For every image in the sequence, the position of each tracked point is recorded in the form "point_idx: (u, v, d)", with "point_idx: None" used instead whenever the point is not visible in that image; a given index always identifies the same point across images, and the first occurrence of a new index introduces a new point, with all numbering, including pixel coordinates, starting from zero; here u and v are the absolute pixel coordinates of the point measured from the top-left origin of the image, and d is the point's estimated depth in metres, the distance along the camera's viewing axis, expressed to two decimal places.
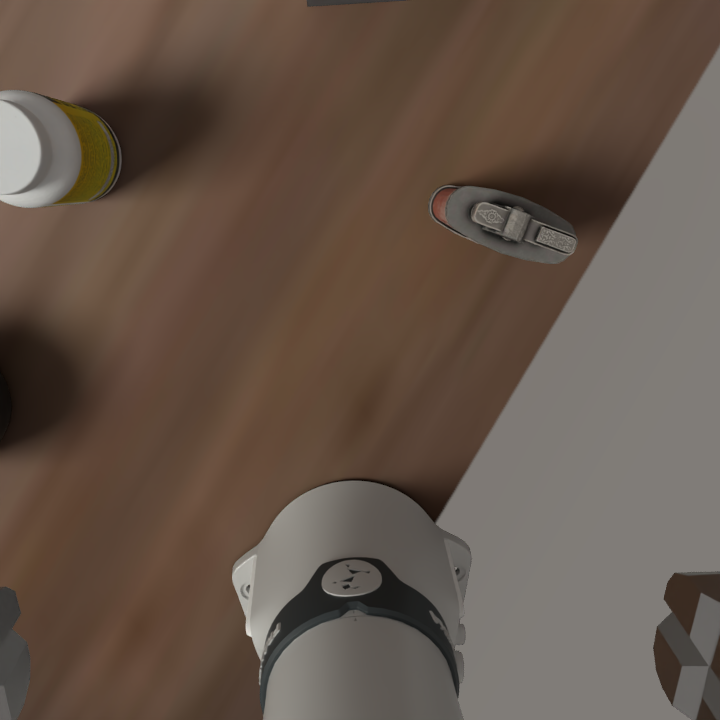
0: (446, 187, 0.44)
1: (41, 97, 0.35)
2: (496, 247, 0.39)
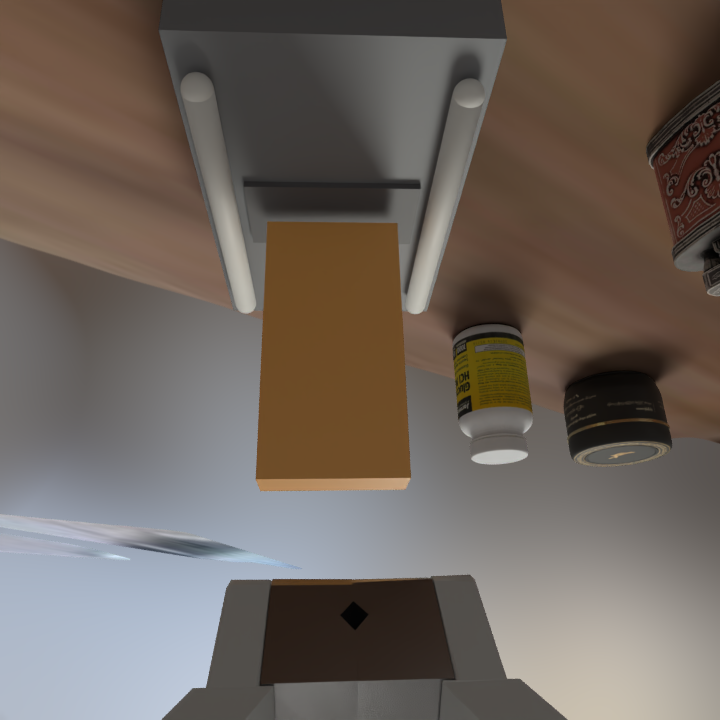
0: (652, 157, 0.36)
1: (469, 417, 0.54)
2: None
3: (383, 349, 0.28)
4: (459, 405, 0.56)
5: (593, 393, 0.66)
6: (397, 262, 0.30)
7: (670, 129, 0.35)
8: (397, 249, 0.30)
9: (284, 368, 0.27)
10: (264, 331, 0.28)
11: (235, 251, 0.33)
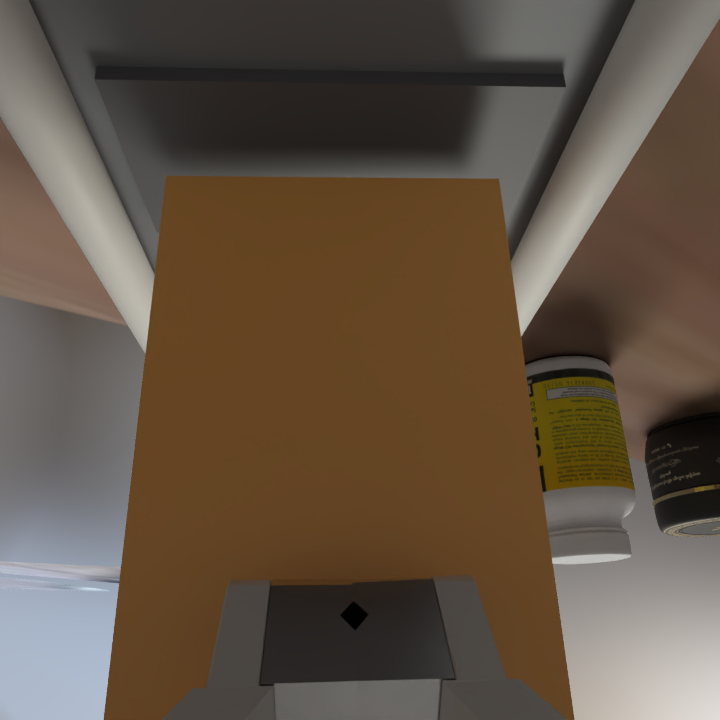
0: None
1: None
2: None
3: (490, 544, 0.09)
4: None
5: (694, 443, 0.48)
6: (508, 281, 0.11)
7: None
8: (504, 246, 0.11)
9: (188, 617, 0.09)
10: (136, 491, 0.09)
11: (110, 252, 0.14)
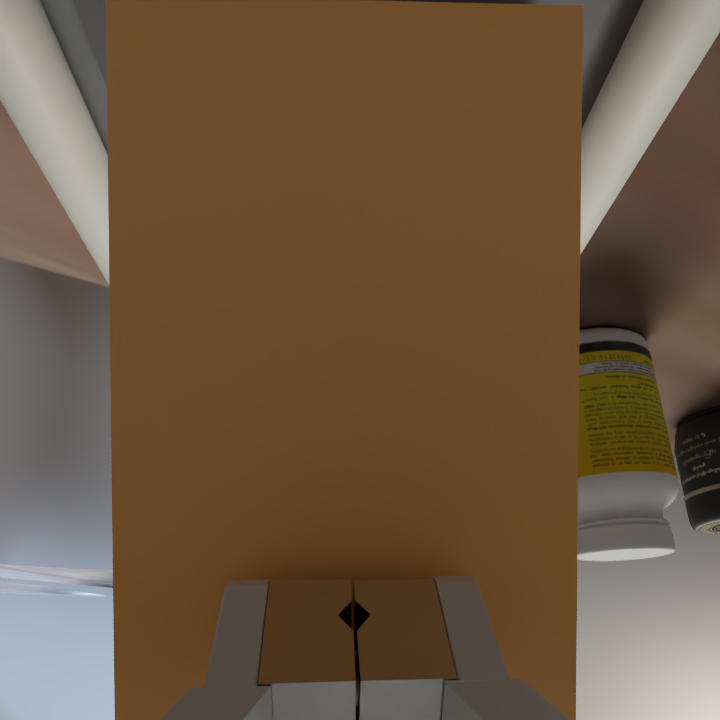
0: None
1: None
2: None
3: (513, 509, 0.09)
4: None
5: None
6: (574, 175, 0.08)
7: None
8: (576, 120, 0.08)
9: (190, 580, 0.08)
10: (118, 447, 0.08)
11: (38, 102, 0.10)
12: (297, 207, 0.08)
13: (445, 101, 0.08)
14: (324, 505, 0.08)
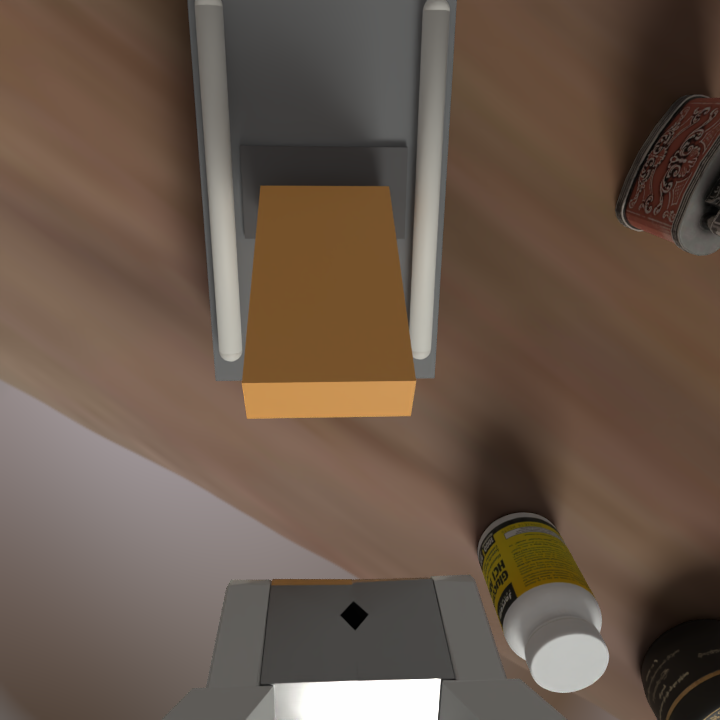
0: (623, 211, 0.39)
1: (515, 607, 0.40)
2: None
3: (380, 276, 0.26)
4: (499, 606, 0.42)
5: (674, 648, 0.50)
6: (390, 213, 0.29)
7: (629, 179, 0.39)
8: (390, 204, 0.30)
9: (275, 291, 0.26)
10: (255, 263, 0.27)
11: (225, 232, 0.32)
12: (311, 218, 0.29)
13: (352, 201, 0.30)
14: (319, 275, 0.26)
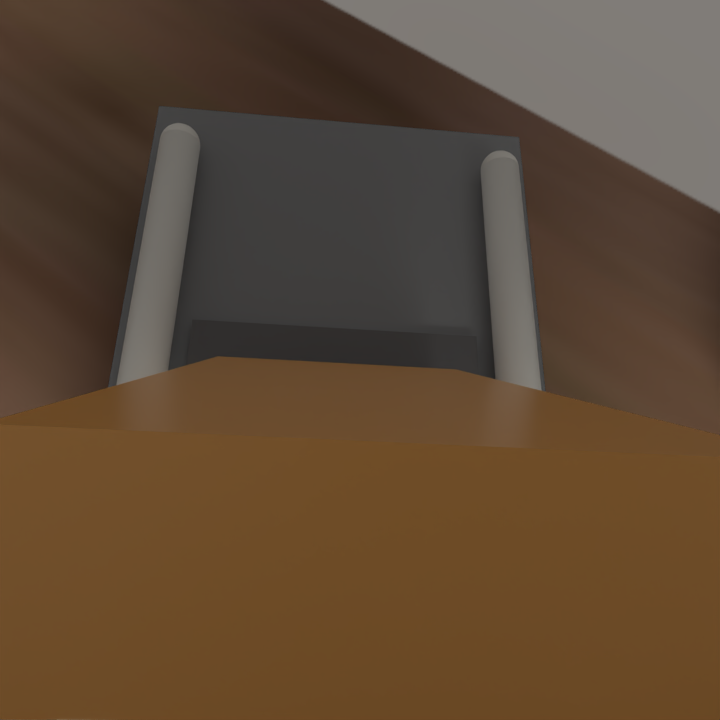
0: None
1: None
2: None
3: (496, 390, 0.10)
4: None
5: None
6: (473, 374, 0.15)
7: None
8: (467, 373, 0.15)
9: (219, 380, 0.09)
10: (178, 370, 0.11)
11: None
12: (314, 366, 0.14)
13: (393, 369, 0.15)
14: (339, 381, 0.10)
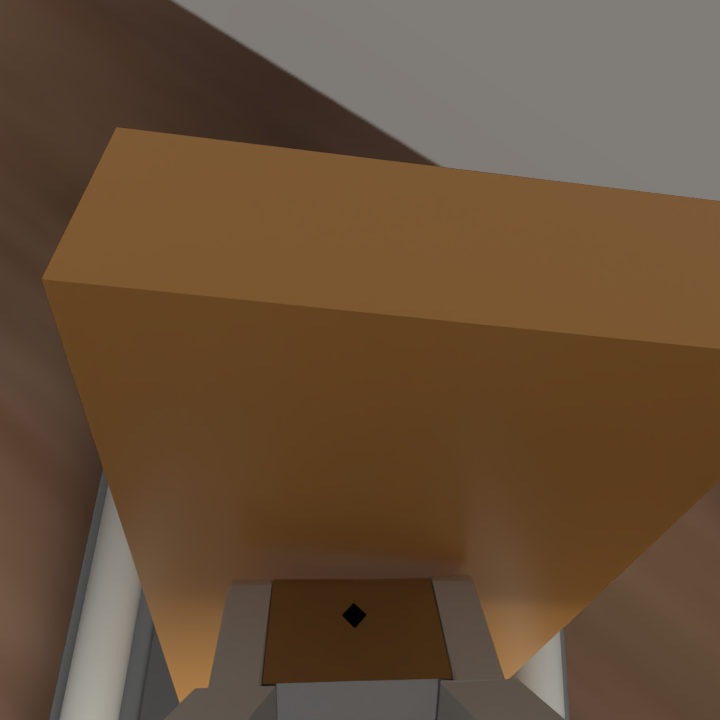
0: None
1: None
2: None
3: None
4: None
5: None
6: None
7: None
8: None
9: None
10: None
11: None
12: None
13: None
14: None
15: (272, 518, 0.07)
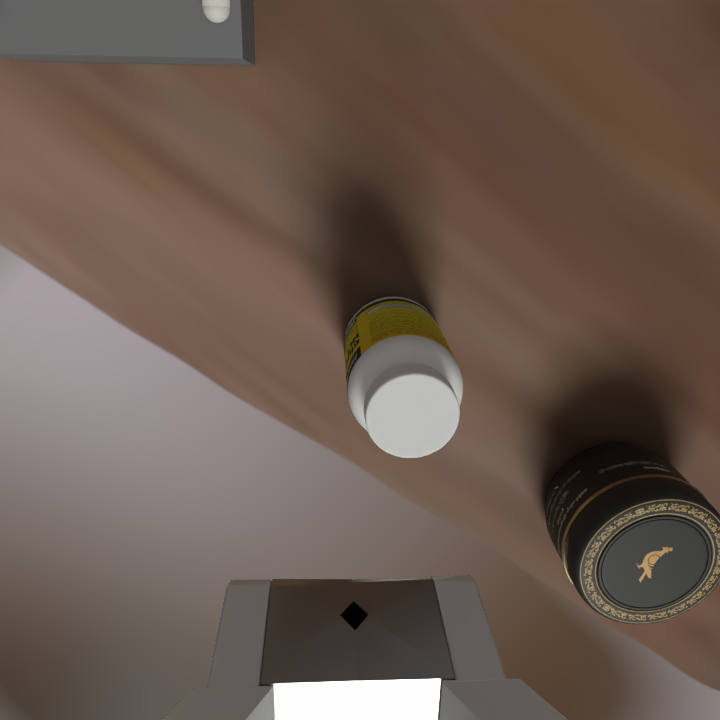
0: None
1: (357, 364, 0.34)
2: None
3: None
4: (347, 375, 0.36)
5: (576, 470, 0.44)
6: None
7: None
8: None
9: None
10: None
11: None
12: None
13: None
14: None
15: None
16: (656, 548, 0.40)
